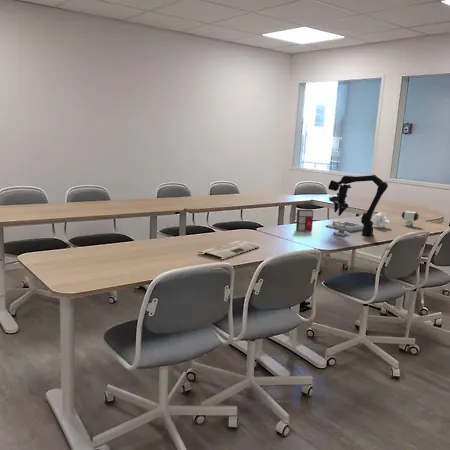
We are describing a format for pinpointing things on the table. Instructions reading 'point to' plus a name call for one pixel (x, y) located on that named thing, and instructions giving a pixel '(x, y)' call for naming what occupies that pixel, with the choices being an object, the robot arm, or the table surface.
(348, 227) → the carrier plate
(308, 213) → the grey and red box
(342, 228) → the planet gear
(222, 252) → the newspaper
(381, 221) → the white lumpy lump
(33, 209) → the table surface
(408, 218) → the pneumatic valve
